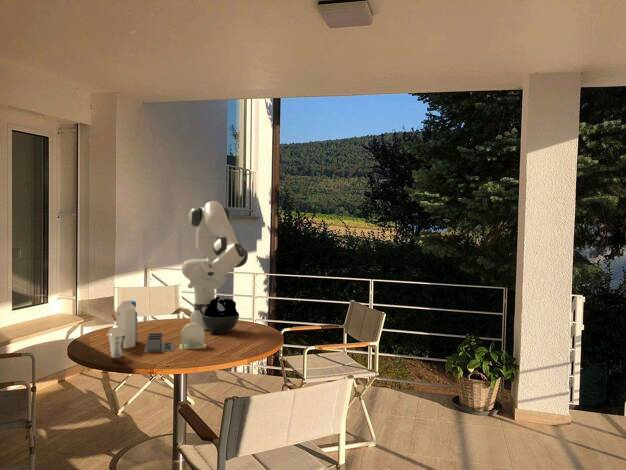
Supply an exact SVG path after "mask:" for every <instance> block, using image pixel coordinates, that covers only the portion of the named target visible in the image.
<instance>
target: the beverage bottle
mask: <svg viewBox="0 0 626 470" xmlns="http://www.w3.org/2000/svg"><path fill="white" fill-rule="evenodd" d="M131 303H132V304H133V305H134V306H135V343H136V342H137V341H138V322H139V321H138V318H137V317H138V312H137V310H136V307H137V302H136V300H131Z"/></svg>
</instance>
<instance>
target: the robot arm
mask: <svg viewBox="0 0 626 470" xmlns="http://www.w3.org/2000/svg"><path fill="white" fill-rule="evenodd" d="M188 220H189V224H190V225H191V226H192V227H196V232H195V233H196V234H195V249H196V251H197V252H198V253H201V254H202V255H204V256H205V257H206V258H192V259H188V260H185V261H183V264H182V265H181V273H182V274H183V276H184V277H185V278H186V279H187V280H189V283H188V285H187V288H188V289H193V290H194V303H193V311H192V313H190V323H197V324H199V325H201V326H202V327H203V329H204V331H207V330H209V329H208V328H207V327H206V326H205V324H204V322H203V320H202V314H204V312H205V311H206V309H207V306H208V304H210V301H211V300H212V299H215V298H216V297H215V296H216V294H215V293H216V291H215V290H219V289H220V288H221V287H222V286H223V285H224V284H225V283H226V281H227V280H228V278H229V276H228V274H229V273H230V271H231V270H234V268H241V267H243V266H245V265H246V264H247V261H248V259H249V253H248V251H247V250H246V249H245V248H244V247H243V246H242V244H241V242H240V239H239V238H238V236H237V234H236V233H235V230H234V228H233V227H232V225H231V223H230V221H231V212H230V209H228V208H227V207H224V206H223V205H222V204H221V203H220V202H218V201H216V200H210V201H208V202H207V203H205V204H204V206H201V207H199V206H197V207H192V208H191V209H190V211H189V213H188ZM217 237H218V238H217Z"/></svg>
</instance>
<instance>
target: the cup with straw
mask: <svg viewBox="0 0 626 470" xmlns="http://www.w3.org/2000/svg"><path fill="white" fill-rule="evenodd" d="M118 315H119V313H117V312H116V314H115V325H112V326H111V327H110V328H109V330H108V332H107V333H106V336H107V337H108V341H109V347H110V355H111V358H115V359H117V357H118V358H122V357H123V351H124V349H123V345H124V340H125V335H127V332H126V331H125V329H124V328H123V327H122V326H120V325H118ZM121 356H122V357H121Z"/></svg>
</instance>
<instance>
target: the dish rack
mask: <svg viewBox="0 0 626 470" xmlns="http://www.w3.org/2000/svg"><path fill="white" fill-rule="evenodd" d="M162 341H163V332H150V333H148V335H147V338H146V344H145V347H144V351H143V353H155V352H156V353H157V352H158V353H159V352H163V353H164V352H174V351H175V344H176V343H175V342H162Z"/></svg>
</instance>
